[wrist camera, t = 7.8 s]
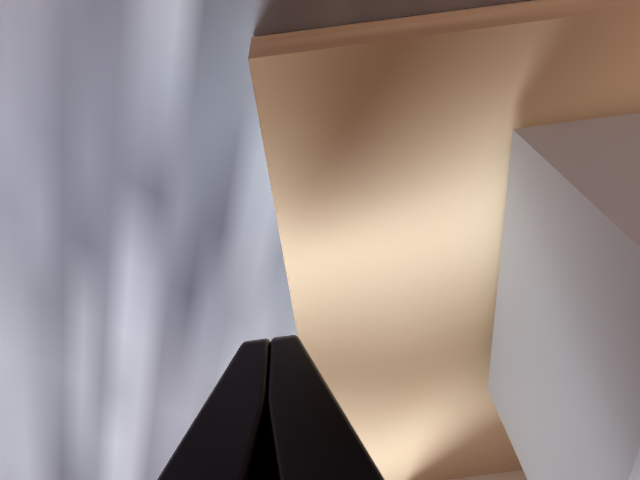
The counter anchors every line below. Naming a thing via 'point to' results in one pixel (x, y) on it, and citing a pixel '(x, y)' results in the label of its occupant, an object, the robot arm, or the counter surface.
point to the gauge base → (421, 202)
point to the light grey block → (571, 301)
